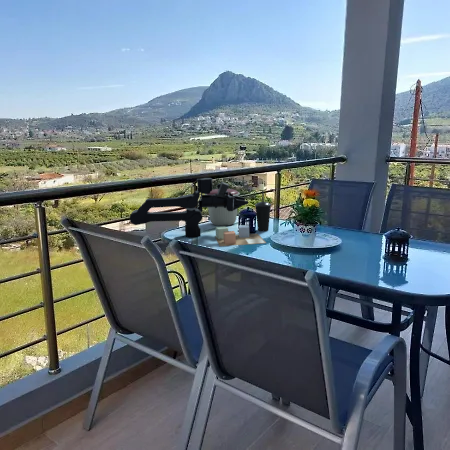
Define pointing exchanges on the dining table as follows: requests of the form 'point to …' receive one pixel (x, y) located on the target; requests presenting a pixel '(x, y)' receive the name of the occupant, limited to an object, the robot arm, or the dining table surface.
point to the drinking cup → (263, 214)
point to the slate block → (243, 231)
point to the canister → (222, 212)
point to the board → (243, 240)
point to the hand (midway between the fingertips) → (246, 200)
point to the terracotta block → (229, 237)
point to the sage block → (220, 232)
